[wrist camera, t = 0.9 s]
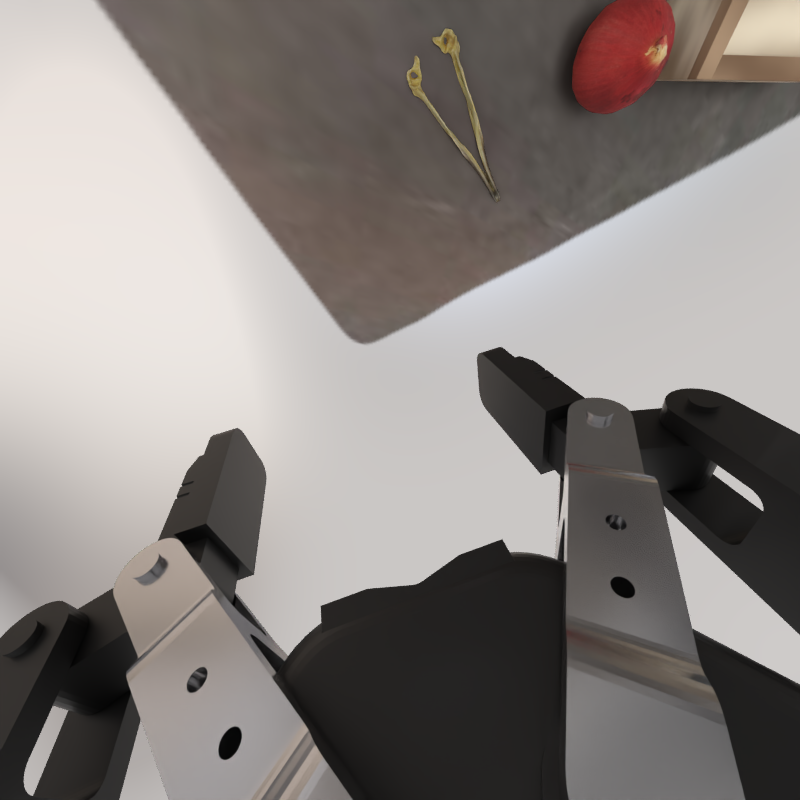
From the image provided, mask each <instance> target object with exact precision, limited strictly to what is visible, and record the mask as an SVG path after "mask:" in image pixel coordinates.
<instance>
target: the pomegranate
mask: <svg viewBox="0 0 800 800" xmlns="http://www.w3.org/2000/svg"><path fill="white" fill-rule="evenodd" d="M675 25H676V24H675V21H674V16H673V12H672V8H671V6H670V5H669V3H667V2H666V1H665V0H617V1H615V2H613V3H611V4H609V5H607V6H606V7H605V8H604V9H603V10H602V12H601V13H600V14H599V15H598V16H597V17H596V19H595V20H594V21H593V22H592V23H591V25H590V26H589V28H588V29H587V31H586V33H585V35H584V37H583V39H582V41H581V43H580V45H579V47H578V50H577V54H576V57H575V60H574V64H573V75H572V88H573V91H574V94H575V97H576V99H577V102H578V103H579V104H580V105H582V106H583V107H584V108H585V109H586V110H588V111H590V112H593V113H601V114H608V113H613V112H616V111H618V110H620V109H622V108H625V107H627V106H629V105H631V104H633V103H634V102H635V101H636V100H638V99H639V98H640V97H641V96H642V95H643V94H644V93H645V92H646V91H647V90H648V89H649V88H650V87H651V86H652V85H653V84H654V83H655V82H656V80H657V79H658V77H659V75H660V74H661V72H662V70H663V69H664V67H665V66H666V64H667V62H668V59H669V55H670V52H671V49H672V46H673V43H674V34H675Z"/></svg>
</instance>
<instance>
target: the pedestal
mask: <svg viewBox="0 0 800 800" xmlns="http://www.w3.org/2000/svg"><path fill="white" fill-rule="evenodd" d="M667 3H669V5H670V6H671V8H672V12H673V16H674V21H675V24H676V25H675V34H674V43H673V46H672V49H671V52H670V55H669V59H668V62H667V64H666V66H665V67H664V69H663V70H662V72H661V74H660V75H659V77H658V79H657V80H656V81H700V82H755V83H768V82H800V0H667Z"/></svg>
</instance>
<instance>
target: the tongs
mask: <svg viewBox="0 0 800 800" xmlns="http://www.w3.org/2000/svg"><path fill="white" fill-rule="evenodd" d="M445 37H446V38H447V43H446V45H445V44H444V38H445ZM432 41H433V42H434V43H435V44H436V45H437V46H439V47H440V48H441V50H442V52H444V53H445V54H446V53H450V55H451V57H452V60H453V64H454V67H455V70H456V73H457V76H458V80H459V83H460V86H461V88H462V91H463V93H464V95H465V98H466V101H467V107H468V111H469V115H470V119H471V123H472V127H473V130H474V134H475V138H476V142H477V146H478V149H479V153H480V156H481V159H482V163H483V166H484V168H485V171H486V172H484V170H481V169H480V167H479V165H478V164H477V162H476V160H475V159H474V157H473V156H472V154H471V153H470V152H469V151H468V150H467V149H466V147H465V146H464V145H462V144H461V143H460V141H459V140H458V139H457V138H456V136H455V135H454V134H453V133H452V132H451V131H450V130H449V128H448V127H447V126H446V124H445V123H444V122H443V120H442V119H441V117H440V116H439V114H438V113H437V111H436V110H435V109H434V107H433V105H432V104H431V103H430V102H429V100H428V99H427V97H426V95H425V93H424V92H423V91H422V88H421V81H422V74H421V70H420V60H419V58H418V57H417V56H415V61H414V65H413V68H412V69H410V70H408V71H407V80H408V83H409V87H410V88H411V89H412V92H413V94H414V96H417V97H419V98H420V99H422V100H423V101H424V102H425V104H426V105H427V107H428V108H429V110H430V111H431V112H432V114H433V115H434V116H435V118H436V119H437V120H438V122H439V123H440V125H441V126H442V127H443V129H444V130H445V131H446V133H447V134H448V135H449V136H450V137H451V138H452V139H453V141H454V142H455V144H456V145H457V146H458V148H459V149H460V151H461V152H462V154H463V155H464V157H465V158H466V159H467V160H468V161H469V163H470V164H471V165H472V166H473V168H474V169H475V170H476V171H477V173H478V174H479V175H480V177H481V178H482V180H483V182H484V183H485V185H486V186H487V188H488V189H489V191H490V194H491V196H492V197H493V199H494V200H495V202H496V203H498V201H500V196H499V192H498V190H497V188H496V186H495V183H494V180H493V178H492V175H491V172H490V169H489V166H488V162H487V158H486V153H485V149H484V141H483V136H482V132H481V129H480V125H479V119H478V116H477V113H476V110H475V107H474V104H473V101H472V98H471V95H470V93H469V90H468V87H467V83H466V80H465V76H464V72H463V69H462V66H461V64H460V60H459V51H460V45H459V42H458V41H457V36H456V35H455V34H454V33H453V31H452V29H447V28H446V29H445V30H444V31H443V33H442V35H441V36H440V37H432ZM412 72H415V73H416V74H417V75H418V77H417V78H412V77H411V73H412Z"/></svg>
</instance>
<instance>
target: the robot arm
mask: <svg viewBox="0 0 800 800" xmlns="http://www.w3.org/2000/svg"><path fill="white" fill-rule="evenodd" d="M477 365H478V379H479V391H480V397H481V400H482V403H483V405H484V407H485V408H486V410H487V411H488V412H489V413H490V414H491V416H492V417H493V418H494V419H495V420H496V421H497V423H498V424H499V425H500V426H501V427H502V428H503V430H504V431H505V432H506V433H507V435H508V436H509V437H510V438H511V439H512V440H513V441H514V443H515V444H516V445H517V446H518V447H519V449H520V450H521V451H522V452H523V453H524V455H525V456H526V457H527V458H528V459H529V461H530V462H531V463H532V464H533V465H534V467H535V468H536V469H537V470H538V471H539V472H540V474H544V473H546V472H550V471H552V470H556V471H557V473H558V474H559V475H560V478H559V494H558V495H559V496H558V516H557V517H558V518H557V537H556V549H555V559H554V558H551V557H547V556H543V555H540V554H533V553H524V552H511V553H510V552H509V550H508V549H507V547H506V545H505V543H504V542H503V540H499V541H496V542H494V543H491V544H488V545H486V546H483V547H480V548H477V549H475V550H472V551H469V552H466V553H464V554H461V555H459V556H457V557H456V558H455V559H453V560H452V561H450V562H449V563H448V564H446V565H445V566H443V567H442V568H441V569H439V570H438V571H436V572H435V573H433V574H432V575H431V576H429V577H428V578H426V579H425V580H424V581H422V582H420V583H419V584H416V585H409V586H397V587H385V588H373V589H366V590H363V591H360V592H358V593H355V594H352V595H350V596H347V597H344V598H341V599H339V600H336V601H333V602H330V603H328V604H325V605H322V606H321V622H322V623H321V624H320V625H318V626H317V627H316V628H315V629H313V630H312V631H311V632H310V633H309V634H308V635H307V636H305V637H304V639H303V640H302V641H301V642H300V643H299V644H298V645H297V646H296V647H295V648H294V650H293V651H292V652H291V653H290V655H289V656H287V654H286V653H285V652H284V651H283V650H282V649H281V648H280V647H279V646H278V645H277V644H276V642H275V641H274V640H273V639H272V637H271V636H270V635H269V634H268V632H267V631H266V630H265V629H264V627H263V626H262V625H261V623H260V622H259V621H258V620H257V619H256V617H255V616H254V615H253V613H252V612H251V611H250V609H249V608H248V607H247V606H246V605H245V603H244V602H243V601H242V599H241V598H240V597H239V596H238V595H237V594H236V593H235V589H236V582H237V580H240V579H243V578H245V577H248V576H251V575H254V569H255V562H256V554H257V547H258V539H259V532H260V524H261V517H262V509H263V501H264V494H265V486H266V472H265V468H264V465H263V463H262V461H261V460H260V458H259V456H258V455H257V453H256V452H255V450H254V449H253V447H252V446H251V444H250V442H249V441H248V439H247V438H246V436H245V435H244V433H243V432H242V431H241V430H240V429H238V428H236V429H232V430H229V431H226V432H223V433H220V434H216V435H213V436H212V437H211V438H210V440H209V443H208V445H207V448H206V451H205V454H204V455H202V456H199V457H198V459H197V460H196V461H195V462H194V463H193V465H192V466H191V467H190V468H189V469H188V471H187V473H186V475H185V478H184V480H183V483H182V487H180V489H179V492H178V494H177V499H175V501H174V504H173V506H172V509H171V511H170V513H169V516H168V518H167V521H166V523H165V525H164V528H163V530H162V532H161V535H160V537H159V539H158V541H157V542H155V543H153V544H151V545H149V546H147V547H146V548H144V549H143V550H142V551H140V552H139V553H138V554H137V555H135V556H134V557H133V558H132V559H131V560H130V561H129V562H128V563H127V565H126V566H125V567H124V568H123V570H122V571H121V572H120V574H119V576H118V578H117V579H116V582H115V585H114V588H113V589H111V590H109V591H107V592H106V593H104V594H103V595H101V596H99V597H97V598H96V599H94V600H93V601H91V602H89V603H87V604H86V605H84V606H82V607H81V608H79V609H76V608H74V607H73V606H71V605H69V604H67V603H65V602H63V601H55V602H51V603H48V604H45V605H43V606H41V607H39V608H37V609H35V610H33V611H32V612H30V613H29V614H27V615H26V616H24V617H23V618H22V619H21V620H19V621H18V622H17V623H16V624H14V625H13V626H12V627H11V628H10V629H9V630H8V631H7V632H6V633H5V634H4V635H3V636H2V637H1V638H0V800H119V798H120V794H121V791H122V787H123V783H124V780H125V775H126V772H127V768H128V765H129V761H130V757H131V753H132V750H133V746H134V742H135V738H136V735H137V731H138V727H139V724H140V720H141V722H142V724H143V727H144V730H145V733H146V736H147V739H148V741H149V744H150V747H151V750H152V753H153V756H154V759H155V761H156V765H157V767H158V770H159V773H160V776H161V779H162V782H163V784H164V787H165V790H166V793H167V796H168V799H169V800H800V684H798V683H795V682H794V681H792V680H790V679H788V678H786V677H784V676H782V675H780V674H779V673H777V672H775V671H773V670H771V669H769V668H767V667H765V666H763V665H761V664H759V663H757V662H755V661H753V660H751V659H750V658H748V657H746V656H744V655H742V654H740V653H738V652H736V651H734V650H732V649H730V648H729V647H727V646H725V645H723V644H721V643H719V642H717V641H715V640H713V639H711V638H709V637H707V636H705V635H704V634H701V633H700V632H698V631H696V630H694V629H692V626H691V622H690V618H689V614H688V609H687V605H686V601H685V596H684V592H683V588H682V583H681V579H680V575H679V570H678V567H677V562H676V557H675V553H674V549H673V544H672V540H671V536H670V532H669V527H668V523H667V519H666V514H665V510H664V506H665V507H666V508H667V509H668V510H669V511H670V512H671V513H672V514H673V515H674V516H675V517H677V519H678V520H679V521H680V522H681V523H683V524H684V525H685V526H686V527H687V528H688V529H689V530H690V531H691V532H692V533H693V534H694V535H695V536H696V537H697V538H698V539H700V541H702V542H703V543H704V544H705V545H706V546H707V547H708V548H709V549H710V550H711V551H712V552H713V553H714V554H715V555H716V556H717V557H718V558H720V559H721V560H722V561H723V562H724V563H725V564H726V565H727V566H728V567H729V568H730V569H731V570H732V571H733V572H734V573H735V574H736V575H738V577H739V578H741V579H742V580H743V581H744V582H745V583H746V584H747V585H748V586H749V587H750V588H751V589H752V590H753V591H754V592H755V593H757V595H758V596H760V597H761V598H762V599H763V600H764V601H765V602H766V603H767V604H768V605H769V606H770V607H771V608H772V609H773V610H774V611H775V612H776V613H778V614H779V615H780V616H781V617H782V618H783V619H784V620H785V621H786V622H787V623H788V624H789V625H790V626H791V627H792V628H793V629H794V630H795V631H796V632H797V633H799V634H800V434H798V433H796V432H794V431H792V430H790V429H789V428H786V427H785V426H783V425H781V424H779V423H777V422H775V421H773V420H771V419H770V418H768V417H766V416H764V415H762V414H760V413H758V412H756V411H754V410H752V409H750V408H749V407H747V406H745V405H743V404H741V403H739V402H737V401H735V400H733V399H731V398H729V397H727V396H725V395H722V394H720V393H717V392H713V391H709V390H703V389H680V390H676V391H673V392H671V393H669V394H668V395H667V396H666V398H665V401H664V404H663V407H662V408H660V409H648V410H636V411H629V410H628V409H627V408H626V407H625V406H623V405H621V404H620V403H617V402H615V401H612V400H608V399H603V398H586V399H585V398H584V397H583V396H581V395H580V394H578V393H577V392H576V391H574V390H573V389H572V388H570V387H569V386H568V385H566V384H565V383H564V382H562V381H561V380H559V379H558V378H556V377H554V376H553V374H551V373H550V372H549V371H547V370H546V371H545V369H544V368H543V367H542V366H540V365H539V364H538V363H536V362H534V361H533V360H529V359H526V358H523V357H520V356H519V357H514V356H512V355H511V354H509V353H508V352H507V351H506V350H505V349H503V348H501V347H498V348H495V349H492V350H489V351H486V352H483V353H479V354H478V357H477ZM717 465H718V466H720V467H721V468H722V469H724V470H725V471H727V472H728V473H730V474H731V475H732V476H734V477H735V478H737V479H738V480H739V481H741V482H742V483H743V484H745V485H746V486H748V487H749V488H751V489H752V490H753V491H754V492H755V493H756V494H757V495H758V496H759V498H760V499H761V501H762V503H763V507H764V511H761V510H760V509H759V508H757V507H756V506H755V505H753V504H752V503H751V502H749V501H748V500H747V499H745V498H744V497H743V496H741V495H740V494H739V493H737V492H736V491H735V490H733V489H732V488H731V487H729V486H728V485H727V484H725V483H724V482H723V481H721V480H720V479H719V478H717V477H716V476H715V475H713V472H714V470H715V469H716V467H717ZM663 505H664V506H663ZM52 706H56V707H59V708H63V709H66V710H69V711H68V713H67V715H66V718H65V720H64V723H63V725H62V727H61V730H60V732H59V735H58V737H57V739H56V742H55V744H54V747H53V749H52V752H51V754H50V756H49V759H48V761H47V764H46V767H45V768H44V771H43V773H42V776H41V778H40V781H39V783H38V785H37V788H36V790H35V793H34V795H33V796H30V795H29V794H28V793H27V792H26V790H25V788H24V782H23V780H24V771H25V767H26V764H27V762H28V759H29V757H30V755H31V753H32V751H33V748H34V746H35V744H36V742H37V739H38V737H39V735H40V733H41V731H42V728H43V726H44V724H45V721H46V719H47V717H48V715H49V713H50V711H51V708H52Z"/></svg>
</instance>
